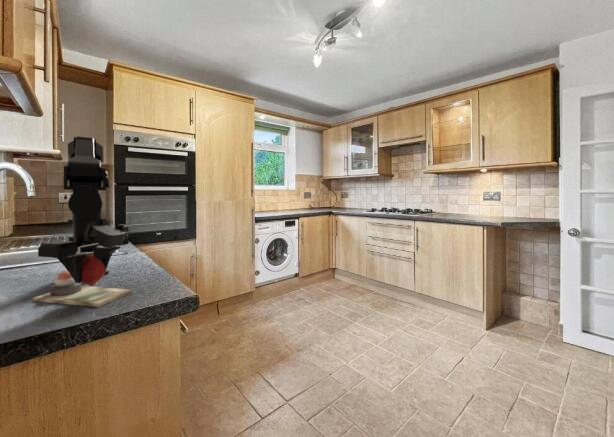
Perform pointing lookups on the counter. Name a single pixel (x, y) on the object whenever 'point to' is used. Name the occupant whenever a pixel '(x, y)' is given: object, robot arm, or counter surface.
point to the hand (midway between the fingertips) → (90, 279)
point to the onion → (92, 270)
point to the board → (82, 295)
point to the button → (64, 279)
